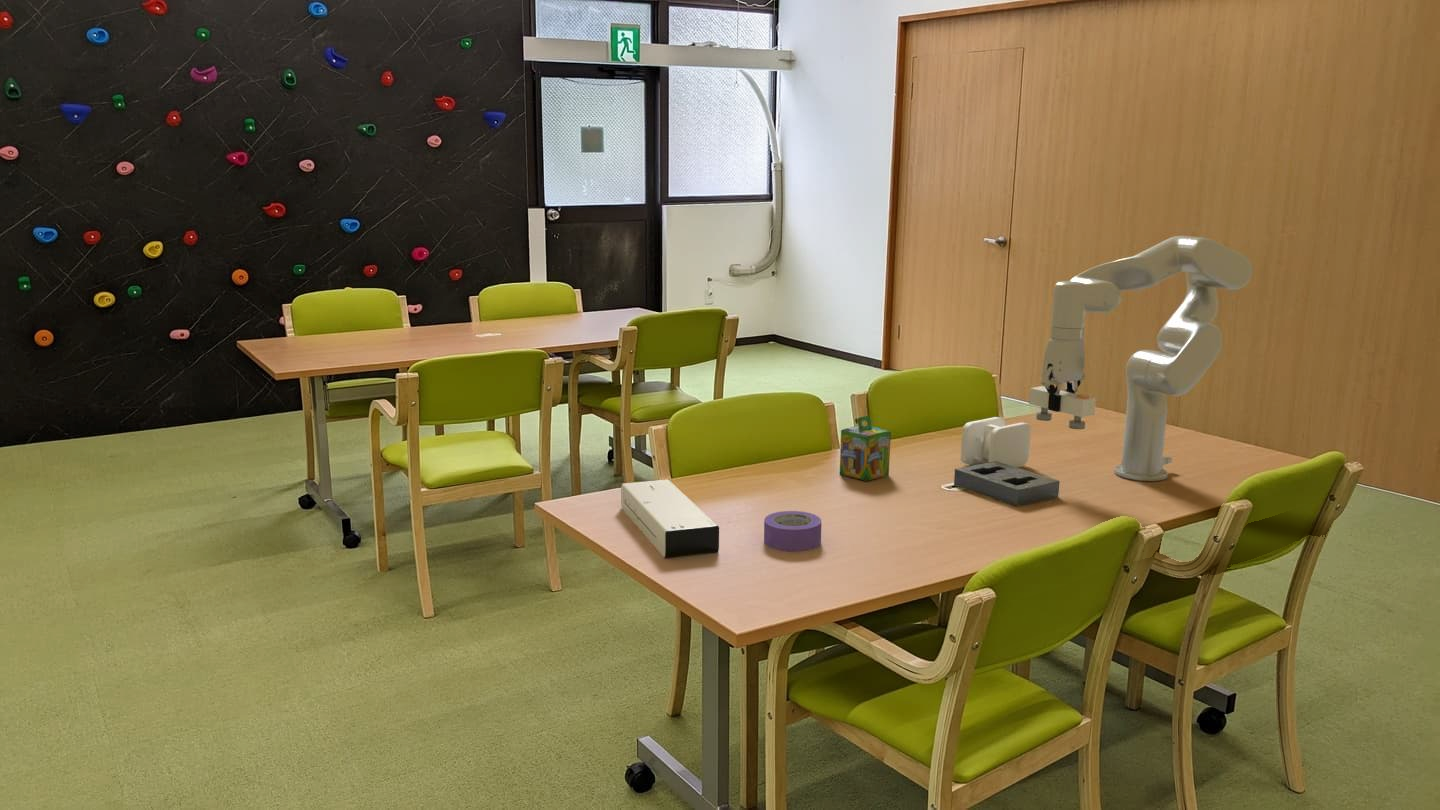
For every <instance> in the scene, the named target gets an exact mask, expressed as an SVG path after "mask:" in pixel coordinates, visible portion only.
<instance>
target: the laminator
mask: <svg viewBox="0 0 1440 810" xmlns="http://www.w3.org/2000/svg"><path fill="white" fill-rule="evenodd" d="M620 485H621V486H620V488H621V489H620V492H621V498H620V499H621V500H620V501H621V502H620V503H621V510H622V511H623V510H624V511H623V512H624V514H625V515H627V517H630V518H631V519H630V518H629V519H630V520H631V521H632V522H633V524H634V525H635V524H636V525H637V526H638V527H637V526H636V525H635V526H636V527H637V528H638V530H640V532H641V531H642V532H641V533H642V534H643V535H644V536H645V537H646V539H647V540H648V539H649V540H650V541H649V540H648V541H649V542H650V543H651V544H652V545H653V547H654V549H656V551H658V552H659V554H660V553H661V554H660V555H661V556H662V557H663V558H664V559H668V558H676V557H677V558H678V557H684V556H685V557H687V556H693V555H703V554H712V553H719V551H720V526H719V525H718V524H717V523H716V522H715V521H713V520H712V519H711V518H710V517H709V515H707V514H706V513H705V512H704V511H703V510H702V509H700V507H698V506H697V505H696V504H695V503H694V502H693V501H692V500H691V499H690V498H689V497H688V496H687V495H686V494H684V493H683V492H682V491H681V490H680V489H679V488H678V487H677V486H676V485H675V484H674V483H673V482H672V481H670V480H669V479H658V480H657V479H656V480H648V481H647V480H646V481H645V480H644V481H638V482H637V481H634V482H625V483H624V482H623V483H621V484H620Z"/></svg>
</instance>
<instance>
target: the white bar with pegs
mask: <svg viewBox="0 0 1440 810" xmlns="http://www.w3.org/2000/svg"><path fill="white" fill-rule="evenodd" d="M1059 395H1061V403H1060V411H1059V412H1058V413H1063V414H1066V415H1067V414H1068V415H1071V416H1073V419H1070V420H1069V421H1068V428H1069V429H1072V430H1085V429H1086V421H1084V420H1082V418H1086V417H1091V416H1095V415H1096V414H1095V412H1096V404H1097V403H1096V400H1097V398H1095V397H1091V396H1090V395H1087V394H1083V393H1082V394H1081V393H1076V394H1075V393H1070V392H1066V390H1061V389H1060V394H1059ZM1048 400H1049V394H1048V393H1047V389H1046V388H1045V387H1044V386H1043V385H1040V386H1034V387H1030V388H1029V400H1028V404H1029V405H1031V406H1035V407H1039V408H1040V411H1037V412H1036V414H1035V415H1036V416H1035V417H1036V418H1035V419H1036V420H1037V421H1043V422H1044V421H1045V422H1048V421H1052V417H1053V413H1052V412H1049V410H1048Z"/></svg>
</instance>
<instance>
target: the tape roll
mask: <svg viewBox="0 0 1440 810" xmlns="http://www.w3.org/2000/svg"><path fill="white" fill-rule="evenodd" d="M763 521H764V522H763V523H764V525H763V526H764V527H763V529H764V530H763V542H764V545H766V546H767V547H768V548H771V549H774V550H777V551H781V552H782V551H783V552H790V553H791V552H793V553H796V552H798V553H799V552H801V553H802V552H807V551H812V550H815V549H817V548H819V547H820V546H821V544H822V518H821V517H820V516H818V515H816V514H814V513H811V512H806V511H800V510H798V511H797V510H784V511H783V510H782V511H777V512H773V513H770V514H767V515H766V516H765V517H764V519H763Z"/></svg>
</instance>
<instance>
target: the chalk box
mask: <svg viewBox="0 0 1440 810" xmlns="http://www.w3.org/2000/svg"><path fill="white" fill-rule="evenodd" d="M863 421H864V422H866V424H867V425H865V424H863ZM871 422H872V421H871V416H870V415H869V414H868V415H864V416H859V417H857V424H858V425H856V426H852V427H848V428H843V429H841V430H840V451H839V452H840V457H839V475H842V476H846V477H850V478H854V479H858V480H862V481H865V482H868V481H872V480H875V479H879V478H883V477H884V478H885V477H888V476H889V475H890V474H889V472H890V452H891V436H892V432H891V431H890V430H887V429H882V428H879V427H876V426H872V423H871Z"/></svg>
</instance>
